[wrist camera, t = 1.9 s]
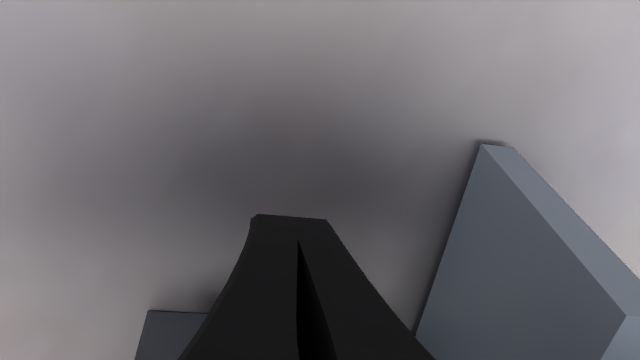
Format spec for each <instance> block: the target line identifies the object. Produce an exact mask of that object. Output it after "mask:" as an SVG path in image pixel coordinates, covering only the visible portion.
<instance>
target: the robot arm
mask: <svg viewBox="0 0 640 360" xmlns="http://www.w3.org/2000/svg"><path fill="white" fill-rule="evenodd" d="M177 360H436V359H435V358H434V357H433V356H432V355H431V354H430V353H429V352H428V351H427V350H426V349H425V348H424V347H423V346H422V345H421V343H420V342H419V341H418V340H417V339H416V338H415V337H414V336H413V334H412V333H411V332H410V331H409V330H408V329H407V327H406V326H405V325H404V324H403V323H402V322H401V321H400V319H399V318H398V317H397V316H396V314H395V313H394V312H393V311H392V310H391V308H390V307H389V306H388V305H387V303H386V302H385V301H384V299H383V298H382V297H381V296H380V294H379V293H378V292H377V290H376V289H375V288H374V286H373V285H372V284H371V283H370V281H369V280H368V279H367V277H366V276H365V275H364V273H363V272H362V270H361V269H360V268H359V266H358V265H357V263H356V262H355V261H354V259H353V258H352V256H351V255H350V253H349V252H348V250H347V249H346V247H345V246H344V245H343V243H342V242H341V240H340V239H339V237H338V236H337V234H336V233H335V231H334V230H333V228H332V227H331V225H330V224H329V223H328V221H327V220H326V219H314V218H302V217H290V216H277V215H265V214H257V215H256V216H254V217H253V218H251V222H250V229H249V233H248V237H247V240H246V242H245V245H244V248H243V250H242V252H241V255H240V257H239V259H238V261H237V263H236V265H235V267H234V269H233V271H232V273H231V275H230V277H229V279H228V281H227V283H226V285H225V287H224V289H223V291H222V292H221V294H220V296H219V297H218V299H217V301H216V302H215V304H214V305H213V307H212V309H211V310H210V312H209V313H208V315H207V317H206V318H205V320H204V322H203V323H202V325H201V326H200V328H199V329H198V331H197V332H196V334H195V335H194V337H193V338H192V340H191V341H190V343H189V344H188V345H187V347H186V348H185V350H184V351H183V352H182V354H181V355H180V356H179V358H178V359H177Z"/></svg>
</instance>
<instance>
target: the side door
mask: <svg viewBox="0 0 640 360" xmlns="http://www.w3.org/2000/svg"><path fill="white" fill-rule="evenodd" d="M415 338H416V339H417V340H418V341H419V342H420V343H421V345H422V346H423V347H424V348H425V349H426V350H427V351H428V352H429V353H430V354H431V355H432V356H433V357H434V358H435V359H436V360H640V279H639V278H638V277H637V276H636V275H635V274H634V273H633V272H632V271H631V270H630V269H629V268H628V267H627V266H626V265H625V264H624V263H623V262H622V261H621V260H620V259H619V257H618V256H617V255H616V254H615V253H614V252H613V251H612V250H611V249H610V248H609V247H608V246H607V245H606V244H605V243H604V242H603V241H602V240H601V239H600V238H599V237H598V236H597V234H596V233H595V232H594V231H593V230H592V229H591V228H590V227H589V226H588V225H587V224H586V223H585V222H584V221H583V220H582V219H581V218H580V217H579V216H578V215H577V214H576V213H575V211H574V210H573V209H572V208H571V207H570V206H569V205H568V204H567V203H566V202H565V201H564V200H563V199H562V198H561V197H560V196H559V195H558V194H557V193H556V192H555V191H554V190H553V189H552V187H551V186H550V185H549V184H548V183H547V182H546V181H545V180H544V179H543V178H542V177H541V176H540V175H539V174H538V173H537V172H536V171H535V170H534V169H533V168H532V167H531V166H530V164H529V163H528V162H527V161H526V160H525V159H524V158H523V157H522V156H521V155H520V154H519V153H518V152H517V151H516V150H515V149H514V148H513V147H505V146H496V145H487V144H481V146H480V149H479V152H478V155H477V158H476V160H475V163H474V166H473V169H472V172H471V175H470V178H469V181H468V184H467V187H466V190H465V193H464V195H463V198H462V201H461V204H460V207H459V210H458V213H457V216H456V219H455V222H454V225H453V228H452V230H451V233H450V236H449V239H448V242H447V245H446V248H445V251H444V254H443V257H442V260H441V262H440V265H439V268H438V271H437V274H436V277H435V280H434V283H433V286H432V289H431V292H430V295H429V297H428V300H427V303H426V306H425V309H424V312H423V315H422V318H421V321H420V324H419V327H418V330H417V332H416V335H415Z"/></svg>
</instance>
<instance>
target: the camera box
mask: <svg viewBox="0 0 640 360" xmlns="http://www.w3.org/2000/svg"><path fill="white" fill-rule="evenodd" d="M207 315H208V314H199V313H178V312H158V311H148V312H147V316H146V319H145V323H144V327H143V330H142V334H141V338H140V341H139V345H138V349H137V352H136V356H135V360H177V359H178V358H179V356H180V355H181V354H182V352H183V351H184V350H185V348H186V347H187V345H188V344H189V343H190V341H191V340H192V338H193V337H194V335H195V334H196V332H197V331H198V329H199V328H200V326H201V325H202V323H203V322H204V320H205V318H206V317H207Z"/></svg>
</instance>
